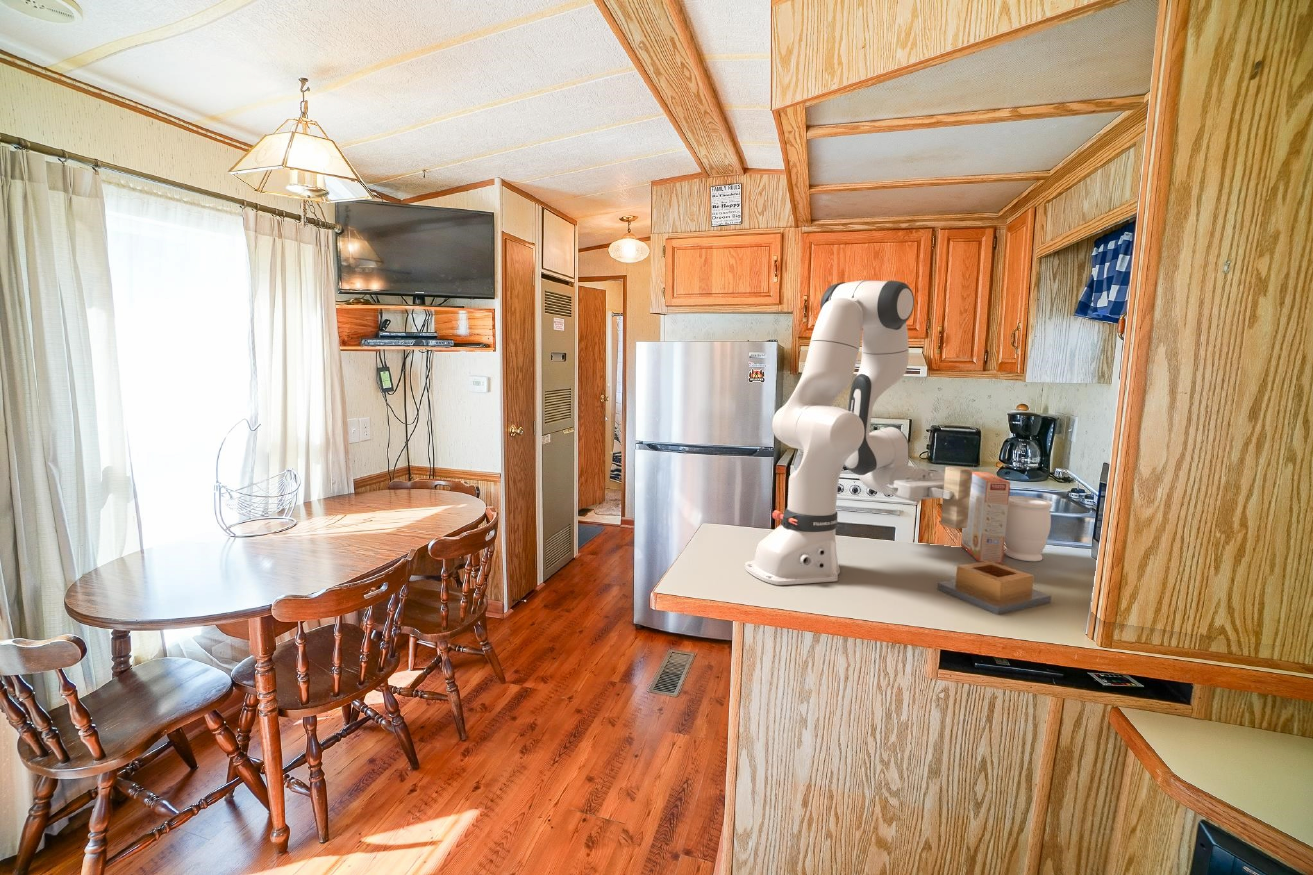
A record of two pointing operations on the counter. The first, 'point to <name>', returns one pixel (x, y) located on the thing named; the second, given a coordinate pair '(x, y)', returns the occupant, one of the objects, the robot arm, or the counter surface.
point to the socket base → (994, 587)
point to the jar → (1027, 527)
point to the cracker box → (986, 517)
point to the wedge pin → (956, 497)
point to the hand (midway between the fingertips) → (959, 494)
